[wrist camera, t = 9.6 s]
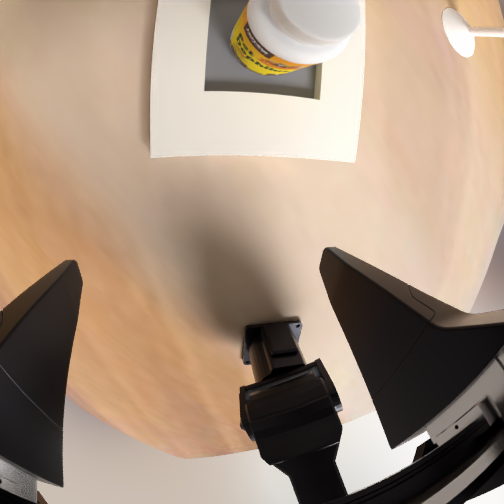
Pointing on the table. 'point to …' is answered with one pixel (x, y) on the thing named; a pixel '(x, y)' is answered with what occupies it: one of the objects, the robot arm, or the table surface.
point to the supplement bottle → (292, 33)
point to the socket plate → (246, 92)
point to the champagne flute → (465, 32)
